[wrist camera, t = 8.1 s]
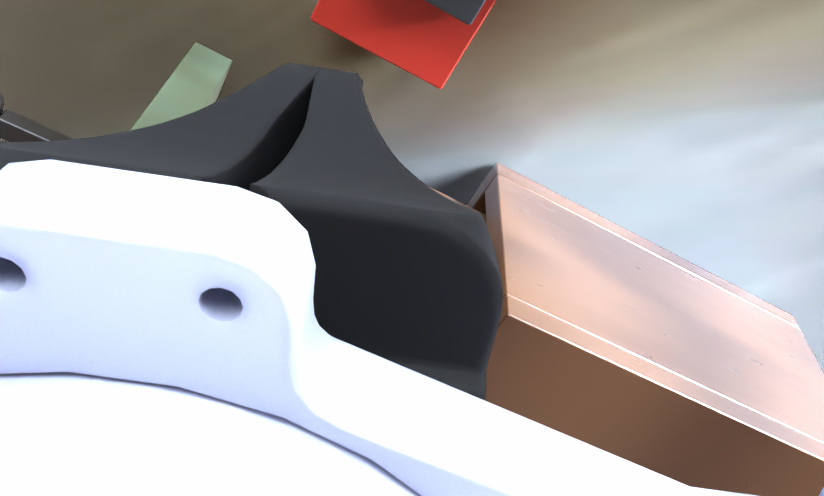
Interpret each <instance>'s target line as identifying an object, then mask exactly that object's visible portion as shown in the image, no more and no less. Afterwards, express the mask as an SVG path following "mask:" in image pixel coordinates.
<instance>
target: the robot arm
mask: <svg viewBox="0 0 824 496" xmlns="http://www.w3.org/2000/svg"><path fill="white" fill-rule="evenodd" d="M362 85H363V80H362V79H361V77H360V76H359V75H358V73H353V72H346V71H340V70H333V69H327V68H320V67H313V66H307V65H300V64H294V63H287V64H284V65H282V66H281V67H279V68H277V69H275V70H274V71H272V72H270V73H269V74H267V75H265V76H264V77H262V78H260V79H258V80H257V81H255V82H253V83H251V84H250V85H248V86H246V87H244V88H243V89H241V90H239V91H237V92H236V93H234V94H231V95H229V96H227V97H225V98H223V99H221V100H219V101H217V102H215V103H213V104H211V105H209V106H207V107H204V108H202V109H200V110H197V111H195V112H193V113H190V114H187V115H185V116H182V117H179V118H176V119H173V120H170V121H167V122H163V123H160V124H156V125H153V126H148V127H144V128H139V129H135V130H130V131H126V132H121V133H117V134H111V135H105V136H98V137H91V138H82V139H72V140H61V141H38V142H0V496H757V495H749V494H742V493H734V492H727V491H719V490H712V489H704V488H697V487H690V486H687V485H685V484H683V483H680V482H678V481H675V480H673V479H671V478H668V477H666V476H663V475H661V474H659V473H656V472H654V471H651V470H649V469H647V468H644V467H642V466H640V465H637V464H635V463H632V462H630V461H628V460H625V459H623V458H620V457H618V456H616V455H613V454H611V453H609V452H606V451H604V450H601V449H599V448H597V447H594V446H592V445H589V444H587V443H585V442H582V441H580V440H577V439H575V438H573V437H570V436H568V435H566V434H563V433H561V432H558V431H556V430H554V429H551V428H549V427H546V426H544V425H542V424H539V423H537V422H535V421H532V420H530V419H527V418H525V417H523V416H520V415H518V414H515V413H513V412H511V411H508V410H506V409H503V408H501V407H499V406H496V405H494V404H492V403H489V402H487V401H485V397H486V391H487V384H486V369H487V366H488V362H489V358H490V355H491V351H492V347H493V344H494V340H495V336H496V333H497V329H498V325H499V322H500V318H501V312H502V304H503V289H502V280H501V274H500V269H499V265H498V261H497V257H496V254H495V250H494V247H493V243H492V240H491V237H490V235H489V232H488V229H487V226H486V224H485V221H484V218H483V216H482V215H481V213H479V212H476V211H474V210H472V209H470V208H467V207H465V206H463V205H461V204H458V203H456V202H454V201H452V200H450V199H448V198H446V197H444V196H443V195H441V194H439V193H438V192H436V191H435V190H433V189H431V188H430V187H428V186H427V185H426V184H424V183H423V182H421V181H420V180H419V179H418V178H417V177H415V176H414V175H413V174H412V173H411V172H410V171H409V170H407V169H406V168H405V167H404V166H403V165H402V164H401V163H400V162H399V161H398V160H397V158H396V157H395V156H394V155H393V153H392V152H391V151H390V149H389V148H388V146H387V145H386V143H385V142H384V140H383V138H382V136H381V135H380V133H379V131H378V129H377V127H376V125H375V123H374V121H373V119H372V117H371V114H370V112H369V110H368V107H367V104H366V101H365V98H364V94H363V90H362ZM819 496H824V488H823V489H822V490H821V492H820V494H819Z"/></svg>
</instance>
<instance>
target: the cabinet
mask: <svg viewBox="0 0 824 496" xmlns="http://www.w3.org/2000/svg"><path fill="white" fill-rule="evenodd" d="M467 206H469V207H471V208H473V209H475V210H477V211H479V212H481V213H483V214H485V215H486V223H487V229H488V232H489V235H490V237H491V240H492V243H493V247H494V250H495V254H496V257H497V261H498V265H499V269H500V274H501V280H502V289H503V304H502V312H501V318H500V322H499V325H498V329H497V333H496V336H495V340H494V344H493V347H492V351H491V355H490V358H489V362H488V366H487V369H486V384H487V391H486V397H485V401H487V402H489V403H492V404H494V405H496V406H499V407H501V408H503V409H506V410H508V411H511V412H513V413H515V414H518V415H520V416H523V417H525V418H527V419H530V420H532V421H535V422H537V423H539V424H542V425H544V426H546V427H549V428H551V429H554V430H556V431H558V432H561V433H563V434H566V435H568V436H570V437H573V438H575V439H577V440H580V441H582V442H585V443H587V444H589V445H592V446H594V447H597V448H599V449H601V450H604V451H606V452H609V453H611V454H613V455H616V456H618V457H620V458H623V459H625V460H628V461H630V462H632V463H635V464H637V465H640V466H642V467H644V468H647V469H649V470H651V471H654V472H656V473H659V474H661V475H663V476H666V477H668V478H671V479H673V480H675V481H678V482H680V483H683V484H685V485H687V486H690V487H697V488H704V489H712V490H719V491H727V492H734V493H742V494H749V495H757V496H819V494H820V492H821V490H822V489H823V488H824V373H823V371H822V369H821V367H820V365H819V363H818V361H817V359H816V357H815V356H814V354H813V352H812V350H811V348H810V346H809V344H808V342H807V340H806V339H805V337H804V335H803V333H802V331H801V330H800V327H799V326H798V324H797V322H796V320H795V318H794V316H793V315H791V314H789V313H787V312H785V311H783V310H781V309H779V308H777V307H775V306H774V305H772V304H770V303H768V302H766V301H764V300H762V299H760V298H758V297H756V296H754V295H752V294H750V293H748V292H746V291H745V290H743V289H741V288H739V287H737V286H735V285H733V284H731V283H729V282H727V281H725V280H723V279H721V278H719V277H717V276H715V275H714V274H712V273H710V272H708V271H706V270H704V269H702V268H700V267H698V266H696V265H694V264H692V263H690V262H688V261H686V260H685V259H683V258H681V257H679V256H677V255H675V254H673V253H671V252H669V251H667V250H665V249H663V248H661V247H659V246H657V245H656V244H654V243H652V242H650V241H648V240H646V239H644V238H642V237H640V236H638V235H636V234H634V233H632V232H630V231H628V230H626V229H625V228H623V227H621V226H619V225H617V224H615V223H613V222H611V221H609V220H607V219H605V218H603V217H601V216H599V215H597V214H596V213H594V212H592V211H590V210H588V209H586V208H584V207H582V206H580V205H578V204H576V203H574V202H572V201H570V200H568V199H567V198H565V197H563V196H561V195H559V194H557V193H555V192H553V191H551V190H549V189H547V188H545V187H543V186H541V185H539V184H537V183H536V182H534V181H532V180H530V179H528V178H526V177H524V176H522V175H520V174H518V173H516V172H514V171H512V170H510V169H508V168H507V167H505V166H503V165H501V164H499V163H496V164H495V165H494V166H493V168H492V169H491V171H490V172H489V173H488V175H487V176H486V178H485V179H484V180H483V182H482V183H481V185H480V186H479V188H478V189H477V190H476V192H475V193H474V195H473V196H472V197H471V199H470V200H469V202H468V203H467Z"/></svg>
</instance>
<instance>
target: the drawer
mask: <svg viewBox="0 0 824 496" xmlns="http://www.w3.org/2000/svg"><path fill="white" fill-rule="evenodd" d="M231 65H232V60H230V59H228V58H227V57H225V56H223V55H221V54H219V53H217V52H215V51H213V50H211V49H209V48H207V47H205V46H203V45H201V44H199V43H195V44H194V45H193V46H192V48H191V49H190V50H189V52H188V53H187V54H186V56H185V57H184V58H183V60H182V61H181V62H180V64H179V65H178V66H177V68H176V69H175V70H174V72H173V73H172V74H171V76H170V77H169V78H168V80H167V81H166V82H165V84H164V85H163V87H162V88H161V89H160V91H159V92H158V93H157V95H156V96H155V97H154V99H153V100H152V101H151V103H150V104H149V105H148V107H147V108H146V109H145V111H144V112H143V113H142V115H141V116H140V117H139V119H138V120H137V121H136V123H135V124H134V125H133V127H132V128H131V129H130V130H135V129H139V128H144V127H148V126H153V125H156V124H160V123H163V122H167V121H170V120H173V119H176V118H179V117H182V116H185V115H187V114H190V113H193V112H195V111H197V110H200V109H202V108H204V107H207V106H209V105H211V104H213V103H215V102H216V100H217V97H218V95H219V93H220V90H221V88H222V86H223V83H224V81H225V79H226V76H227V74H228V72H229V69H230V67H231ZM4 105H5V101H4V97H3V95H2V94H1V93H0V138H2V139H4V140H7V141H9V142H38V141H61V140H72V138H70V137H68V136H66V135H64V134H61V133H59V132H57V131H55V130H53V129H50V128H48V127H46V126H44V125H42V124H39V123H37V122H35V121H33V120H31V119H28V118H26V117H24V116H22V115H20V114H17V113H15V112H13V111H11V110H8V109H6V110H5V111H4V112H3V109H4ZM428 187H429V186H428ZM430 188H431V187H430ZM431 189H433V188H431ZM433 190H435V189H433ZM435 191H436V192H438V193H439V194H441V195H443V196H444V197H446V198H448V199H450V200H452V201H454V202H456V203H458V204H461V205H463V206H465V207H467V208H470V209H472V210H474V211H476V212H479V211H477V210H475V209H473V208H471V207H469V206H467V205H465V204H463V203H461V202H459V201H457V200H455V199H453V198H451V197H449V196H447V195H445V194H443V193H441V192H439V191H437V190H435ZM479 213H481V212H479ZM481 215H482V216H483V218H484V221H485V224H486V226H487V223H486V215H485V214H483V213H481Z"/></svg>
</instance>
